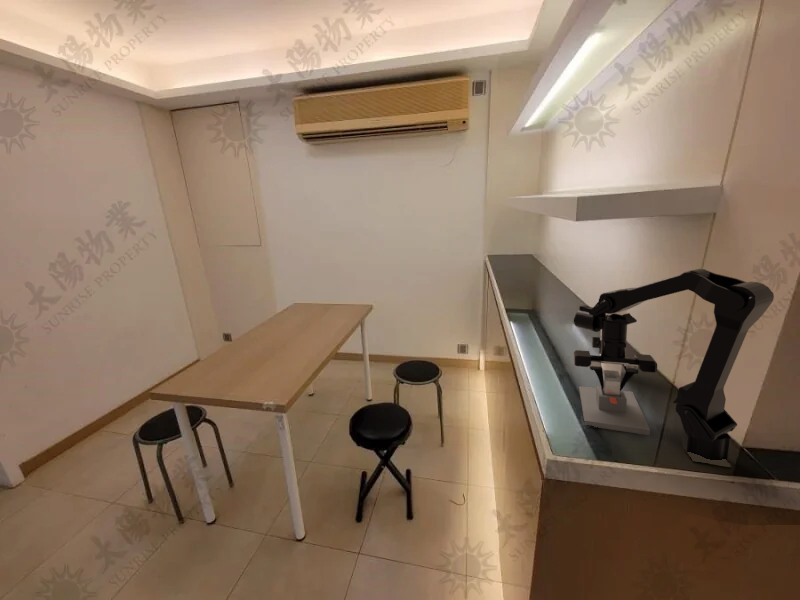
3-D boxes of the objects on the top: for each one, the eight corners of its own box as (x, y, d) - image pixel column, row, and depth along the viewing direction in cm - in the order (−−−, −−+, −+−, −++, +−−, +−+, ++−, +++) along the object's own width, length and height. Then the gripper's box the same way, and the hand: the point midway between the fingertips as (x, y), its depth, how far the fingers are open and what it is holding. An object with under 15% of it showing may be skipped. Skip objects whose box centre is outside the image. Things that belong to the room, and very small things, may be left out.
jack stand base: (632, 396, 98) (633, 379, 97) (649, 435, 80) (651, 415, 79) (579, 390, 104) (579, 374, 103) (585, 425, 86) (585, 406, 85)
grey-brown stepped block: (616, 401, 93) (617, 371, 91) (619, 410, 89) (621, 378, 87) (601, 399, 95) (602, 369, 93) (604, 408, 90) (605, 377, 89)
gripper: (648, 328, 91) (644, 380, 94) (572, 326, 99) (571, 373, 102) (660, 342, 81) (655, 399, 84) (575, 337, 89) (574, 390, 92)
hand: (611, 389), depth 91 cm, fingers open, 4 cm apart
